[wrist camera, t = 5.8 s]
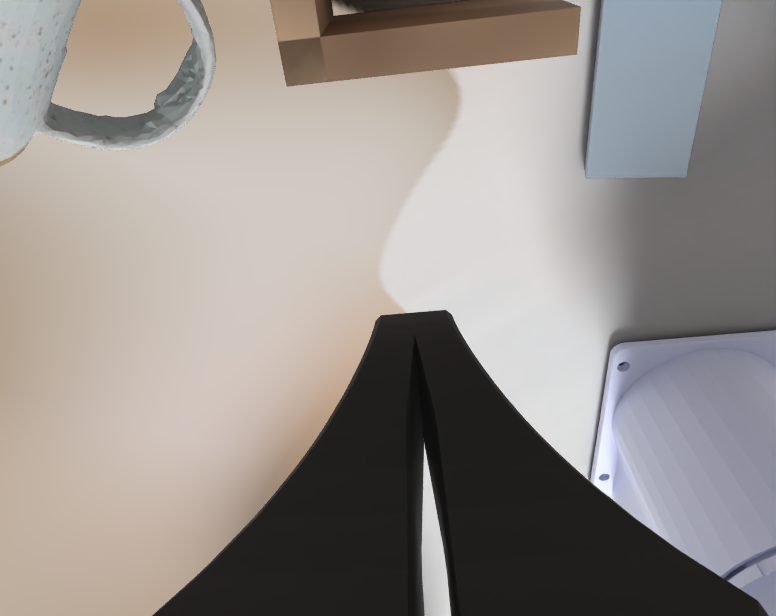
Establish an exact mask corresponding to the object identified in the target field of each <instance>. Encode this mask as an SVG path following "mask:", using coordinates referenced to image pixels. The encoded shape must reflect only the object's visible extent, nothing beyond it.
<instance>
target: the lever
mask: <svg viewBox="0 0 776 616" xmlns="http://www.w3.org/2000/svg"><path fill="white" fill-rule="evenodd" d="M721 5H722V0H601V9H600V19H599V29H598V39H597V50H596V60H595V70H594V80H593V90H592V100H591V110H590V121H589V131H588V141H587V151H586V161H585V176H586V178H671V177H686V175H687V170H688V165H689V160H690V155H691V151H692V146H693V141H694V136H695V131H696V126H697V121H698V117H699V112H700V107H701V102H702V97H703V92H704V87H705V83H706V78H707V73H708V68H709V63H710V58H711V53H712V49H713V44H714V39H715V34H716V29H717V24H718V19H719V15H720V10H721Z"/></svg>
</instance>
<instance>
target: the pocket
mask: <svg viewBox="0 0 776 616" xmlns="http://www.w3.org/2000/svg"><path fill="white" fill-rule="evenodd" d="M270 3H271V8H272V13H273V18H274V24H275V29H276V34H277V39H278V44H279V49H280V55H281V60H282V65H283V70H284V75H285V80H286V85H287V86H295V85H304V84H313V83H322V82H331V81H340V80H349V79H358V78H368V77H377V76H386V75H395V74H404V73H413V72H422V71H430V70H440V69H449V68H458V67H467V66H476V65H485V64H494V63H503V62H513V61H522V60H531V59H540V58H549V57H558V56H567V55H576V54H577V48H578V35H579V23H580V11H581V7H580V6H577V5H574V4H572V3H569V2H566V1H563V0H466V1H458V2H449V3H440V4H432V5H423V6H415V7H406V8H398V9H389V10H381V11H372V12H363V13H355V14H346V15H338V16H333V9H332V2H331V0H270Z"/></svg>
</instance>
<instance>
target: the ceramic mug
mask: <svg viewBox="0 0 776 616" xmlns="http://www.w3.org/2000/svg"><path fill="white" fill-rule="evenodd" d="M177 1H178V2H179V4H180V5H181V7H182V9H183V11H184V14H185V16H186V18H187V20H188V22H189V24H190V26H191V32H192V35H193V43H192V45H191V47H190V49H189V50H188V52H187V54H186V56H185V58H184V60H183V62H182V64H181V66H180V69H179V71H178V73H177V74H176V76H175V78H174V79H173V81H172V82H171V84H170V85H169V86H168V88H167V89H166V90H165V91H163V92H161V93H159V94H158V95H157V97H156V100H155V103H154V105H155V109H153V110H151V111H149V112H147V113H144V114H139V115H135V116H130V117H111V116H96V115H92V114H88V113H84V112H78V111H74V110H70V109H68V108H65V107H62V106H58V105H55V104H53V103H52V102H51V98H52V94H53V91H54V87H55V85H56V82H57V78H58V75H59V71H60V68H61V65H62V63H63V60H64V58H65V55H66V52H67V49H66V43H67V40H68V37H69V33H70V30H71V27H72V24H73V21H74V18H75V16H76V13H77V10H78V7H79V5H80V2H81V0H0V166H3V165H4V164H6V163H8V162H10V161H12V160H13V159H14V158H16V157H17V156H18V155H19V154H20V153H21V152H22V151H23V150H24V149H25V147H26V146H27V144H28V143H29V141H30V140H31V139H32V137H33V136H34V135H37V134H39V133H43V134H47V135H51V136H52V137H54V138H56V139H58V140H61V141H65V142H69V143H72V144H75V145H78V146H87V147H91V148H96V149H101V150H131V149H139V148H142V147H145V146H148V145H151V144H154V143H157V142H159V141H161V140H163V139H165V138H167V137H169V136H171V135H173V134H175V133H176V132H177V131H179V130H180V129H181V128H182V127H183V126H184V125H185V124H186V123H187V122H188V121H190V120H191V118H192V117H193V116H194V115H195V113H196V112H197V110H198V109H199V107H200V105H201V103H202V102H203V100H204V98H205V96H206V94H207V92H208V90H209V89H210V86H211V82H212V78H213V74H214V70H215V62H216V55H215V46H214V40H213V34H212V30H211V28H210V25H209V22H208V18H207V16H206V13H205V10H204V8H203V5H202V3H201V1H200V0H177Z"/></svg>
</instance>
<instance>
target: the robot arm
mask: <svg viewBox="0 0 776 616" xmlns="http://www.w3.org/2000/svg"><path fill="white" fill-rule="evenodd" d="M622 362H626V363H625V364H623V365H620V366H618V365H619V364H620V363H622ZM424 443H425V449H426V454H427V460H428V465H429V471H430V476H431V482H432V487H433V493H434V498H435V504H436V509H437V514H438V520H439V525H440V531H441V536H442V542H443V547H444V554H445V561H446V568H447V576H448V587H449V597H450V608H451V616H776V330H772V331H760V332H748V333H736V334H724V335H712V336H700V337H687V338H675V339H663V340H651V341H639V342H627V343H621V344H618V345H616V346H614V348H613V349H612V350H611V352H610V357H609V363H608V370H607V376H606V383H605V389H604V396H603V402H602V409H601V415H600V422H599V428H598V434H597V441H596V447H595V454H594V460H593V467H592V473H591V480H590V481H589V480H587V479H586V478H585V477H584V476H583V475H582V474H581V473H579V472H578V471H577V470H576V469H575V468H574V467H573V466H572V465H571V464H570V463H569V462H567V461H566V460H565V459H564V458H563V457H562V456H561V455H560V454H559V453H558V452H557V451H556V450H555V449H554V448H553V447H552V446H551V445H550V444H548V443H547V442H546V441H545V440H544V439H543V438H542V437H541V436H540V435H539V434H538V433H537V431H536V430H535V429H534V428H533V427H532V426H531V425H530V424H529V423H528V422H527V421H526V420H525V419H524V417H523V416H522V415H521V414H520V413H519V412H518V411H517V410H516V408H515V407H514V406H513V405H512V404H511V403H510V401H509V400H508V399H507V398H506V397H505V395H504V394H503V393H502V392H501V390H500V389H499V388H498V387H497V385H496V384H495V383H494V382H493V380H492V379H491V377H490V376H489V375H488V373H487V372H486V371H485V369H484V368H483V367H482V365H481V364H480V363H479V361H478V360H477V358H476V357H475V355H474V354H473V352H472V351H471V349H470V348H469V346H468V345H467V343H466V341H465V340H464V338H463V336H462V335H461V333H460V331H459V329H458V327H457V325H456V323H455V321H454V319H453V317H452V315H451V314H450V313H449V312H448V311H446V310H441V311H429V312H417V313H405V314H393V315H381V316H380V317H379V318H378V319H377V320H376V322H375V326H374V329H373V332H372V335H371V338H370V340H369V343H368V346H367V348H366V350H365V353H364V355H363V357H362V359H361V362H360V364H359V366H358V368H357V370H356V372H355V374H354V376H353V378H352V380H351V382H350V384H349V386H348V388H347V389H346V391H345V393H344V395H343V396H342V398H341V400H340V402H339V403H338V405H337V407H336V408H335V410H334V412H333V413H332V415H331V417H330V418H329V420H328V422H327V423H326V425H325V426H324V428H323V430H322V431H321V433H320V434H319V436H318V437H317V439H316V440H315V442H314V443H313V444H312V446H311V447H310V449H309V450H308V451H307V453H306V454H305V456H304V457H303V458H302V460H301V461H300V462H299V464H298V465H297V466H296V468H295V469H294V470H293V472H292V473H291V474H290V475H289V477H288V478H287V479H286V480H285V481H284V483H283V484H282V485H281V486H280V488H279V489H278V490H277V491H276V493H275V494H274V495H273V496H272V498H271V499H270V500H269V501H268V502H267V503H266V504H265V506H264V507H263V508H262V509H261V510H260V511H259V512H258V514H257V515H256V516H255V517H254V518H253V519H252V520H251V521H250V522H249V523H248V524H247V525H246V526H245V527H244V528H243V530H242V531H241V532H240V533H239V534H238V535H237V536H236V537H235V538H234V539H233V540H232V541H231V542H230V543H229V544H228V545H227V546H226V547H225V548H224V549H223V550H222V551H221V552H220V553H219V554H218V555H217V556H216V558H214V559H213V561H212V562H211V563H210V564H209V565H208V566H207V567H205V568H204V569H203V570H202V571H201V572H200V573H199V574H198V575H197V576H196V577H195V578H194V579H193V580H192V581H190V582H189V583H188V584H187V585H186V586H185V587H184V588H183V589H182V590H180V591H179V592H178V593H177V594H176V595H175V596H174V597H173V598H171V599H170V600H169V601H168V602H167V603H166V604H165V605H164V606H163V607H161V608H160V609H159V610H158V611H157V612H156V613H155V614H154V615H153V616H424V601H423V585H422V556H421V544H422V503H423V461H424ZM612 495H613V497H614V499H615V501H613V500H612V499H611V498H610V497H608V496H612Z"/></svg>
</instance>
